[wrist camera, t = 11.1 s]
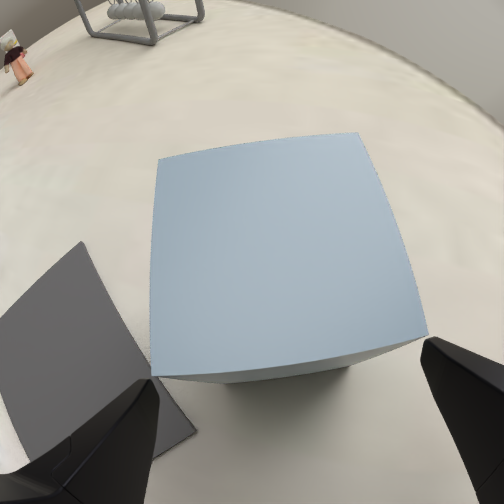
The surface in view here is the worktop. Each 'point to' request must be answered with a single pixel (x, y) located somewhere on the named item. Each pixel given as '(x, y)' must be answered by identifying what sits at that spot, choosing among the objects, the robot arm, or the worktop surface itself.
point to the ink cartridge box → (11, 34)
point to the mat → (72, 359)
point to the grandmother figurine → (16, 60)
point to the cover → (276, 262)
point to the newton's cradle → (140, 18)
